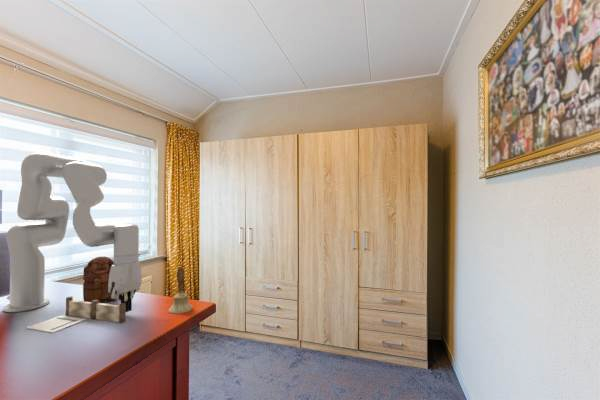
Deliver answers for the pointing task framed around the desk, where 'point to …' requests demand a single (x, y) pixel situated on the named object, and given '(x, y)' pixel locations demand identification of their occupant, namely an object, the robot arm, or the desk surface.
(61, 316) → the card
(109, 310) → the fence panel
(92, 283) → the wooden figurine
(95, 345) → the desk surface
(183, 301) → the hand bell
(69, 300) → the fence fixed
